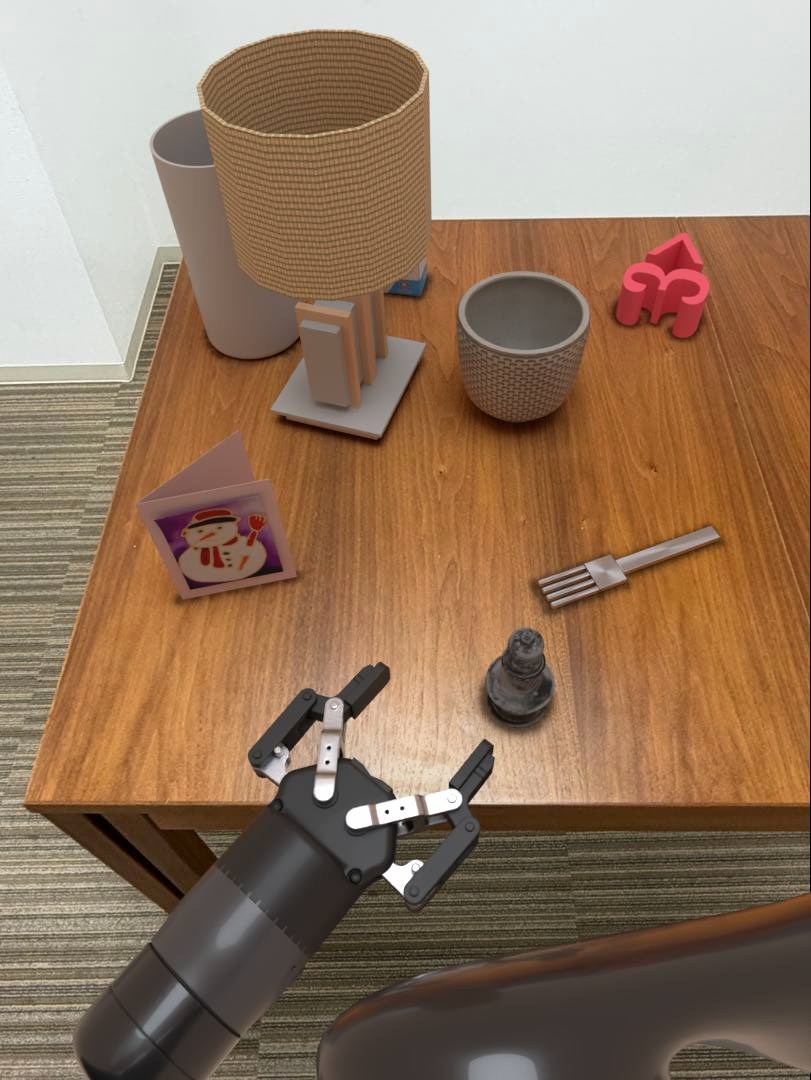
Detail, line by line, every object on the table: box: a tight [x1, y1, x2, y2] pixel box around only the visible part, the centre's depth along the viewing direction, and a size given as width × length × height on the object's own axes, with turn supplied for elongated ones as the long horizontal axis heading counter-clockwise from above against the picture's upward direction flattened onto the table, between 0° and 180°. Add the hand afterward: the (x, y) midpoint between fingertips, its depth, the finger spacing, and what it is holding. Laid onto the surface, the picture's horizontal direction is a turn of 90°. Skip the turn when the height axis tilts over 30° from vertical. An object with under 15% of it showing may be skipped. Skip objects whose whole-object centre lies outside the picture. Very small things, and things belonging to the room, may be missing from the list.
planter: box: [456, 270, 592, 424], centre depth 88 cm, size 14×14×13 cm
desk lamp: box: [195, 28, 433, 441], centre depth 81 cm, size 20×20×35 cm
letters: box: [615, 232, 710, 339], centre depth 101 cm, size 14×10×5 cm
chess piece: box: [484, 627, 556, 728], centre depth 66 cm, size 6×6×12 cm
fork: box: [536, 525, 721, 610], centre depth 79 cm, size 19×3×1 cm, turn 111°
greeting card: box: [134, 428, 298, 600], centre depth 75 cm, size 11×7×15 cm, turn 102°
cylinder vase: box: [149, 108, 303, 360], centre depth 93 cm, size 12×12×25 cm
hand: (435, 706), depth 52 cm, fingers open, 8 cm apart
